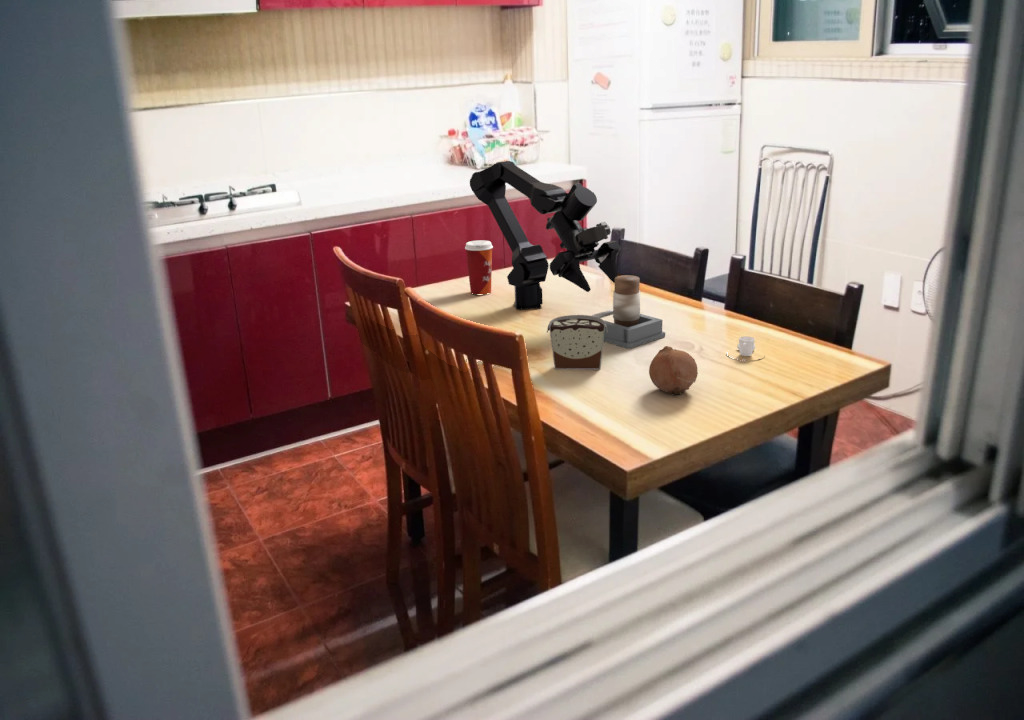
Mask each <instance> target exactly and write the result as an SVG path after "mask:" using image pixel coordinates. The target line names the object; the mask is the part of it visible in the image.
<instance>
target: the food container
mask: <svg viewBox="0 0 1024 720" xmlns="http://www.w3.org/2000/svg"><path fill="white" fill-rule="evenodd" d="M605 321H606V320H605ZM605 321H604V319H602V318H598V317H594V316H592V315H586V314H569V315H568V314H567V315H562V316H559V317H555V318H553V319H551V320H550V321H549V323H548V325H547V329H546V333H549V336H550V343H551V351H552V359H553V368H554V370H585V371H587V370H590V371H592V370H594V371H595V370H601V367H602V358H603V348H604V342H605V341H604V333H605V330H606V331H607V326H606V324H605ZM607 333H608V331H607Z"/></svg>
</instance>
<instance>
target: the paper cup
mask: <svg viewBox="0 0 1024 720" xmlns="http://www.w3.org/2000/svg"><path fill="white" fill-rule="evenodd" d="M493 248H494V246H493V244H492V242H491V241H490V240H485V239H483V240H479V239H478V240H471V241H468V242H466V243H465V247H464V249H465V254H466V261H467V262H466V263H467V271H468V273H467V274H468V279H469V288H470V294H471V293H473V294H487V293H490V294H491V293H492V266H493V265H492V264H493V263H492V262H493V259H492V258H493Z"/></svg>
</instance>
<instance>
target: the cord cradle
mask: <svg viewBox="0 0 1024 720" xmlns="http://www.w3.org/2000/svg"><path fill="white" fill-rule="evenodd" d="M591 316H594V317H598V318H601V319H602V318H606V317H608V316H613V308H612V309H609V310H605V311H602V312H598V313H595V314H592V315H591ZM603 320H604V319H603ZM604 321H605V324H606V326H607V331H608V333H607V331H606V330H605V333H604V342H606V343H609V344H612V345H615V346H618V347H621V348H624V349H628V350H630V349H632V348H635V347H639V346H641V345H644V344H648V343H651V342H653V341H656V340H659V339H662V338H665V337H666V332H665V331H663V319H661V318H658V317H654V316H651V315H646V314H642V313H640V318H639V319H638V325H635V326H632V327H625V326H622V325H618V324H615V323H614V322H611V321H607V320H604Z"/></svg>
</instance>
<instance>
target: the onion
mask: <svg viewBox="0 0 1024 720" xmlns="http://www.w3.org/2000/svg"><path fill="white" fill-rule="evenodd" d="M648 369H649V370H648V374H649V378H650V380H651V382H652V384H653V385H654V387H656V388H657V389H659V391H662V392H666V393H668V394H670V395H682V393H684V392H685V393H686V391H687V390H690V387H692V385H693V384H694V383H696V382H697V378H698V375H699V372H698V364H697V362H696V359H695V358H694V357H693V356H692V355H691V354H689V353H688V352H686V351H684V350H680V349H676V348H673V347H671V346H669V345H666V346H664V347H663V348H662V349H659V350H658V352H657V353H656V354H655V356H654V357H653V358H652V360H651V361H650V365H649V367H648Z"/></svg>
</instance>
